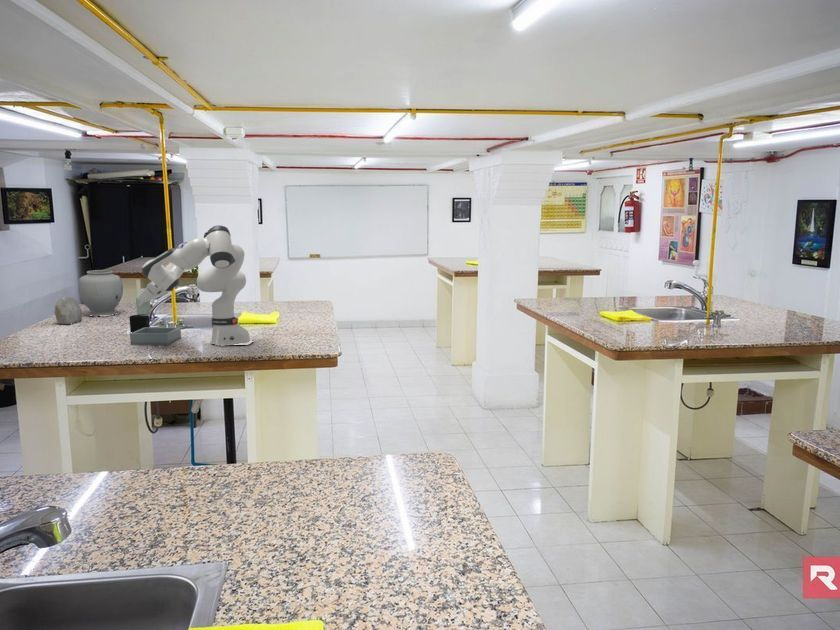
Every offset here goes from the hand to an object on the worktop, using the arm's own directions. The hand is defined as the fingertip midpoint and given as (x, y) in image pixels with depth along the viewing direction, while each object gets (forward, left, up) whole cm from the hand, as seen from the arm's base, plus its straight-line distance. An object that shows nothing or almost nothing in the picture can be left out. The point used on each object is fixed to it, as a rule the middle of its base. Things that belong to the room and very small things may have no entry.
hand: (142, 304), depth 339 cm
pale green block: (-1, 0, -5) cm, 5 cm away
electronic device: (+16, -32, -21) cm, 42 cm away
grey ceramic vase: (+68, -92, -21) cm, 116 cm away
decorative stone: (+73, -62, -21) cm, 98 cm away
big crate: (-4, -7, -21) cm, 23 cm away
